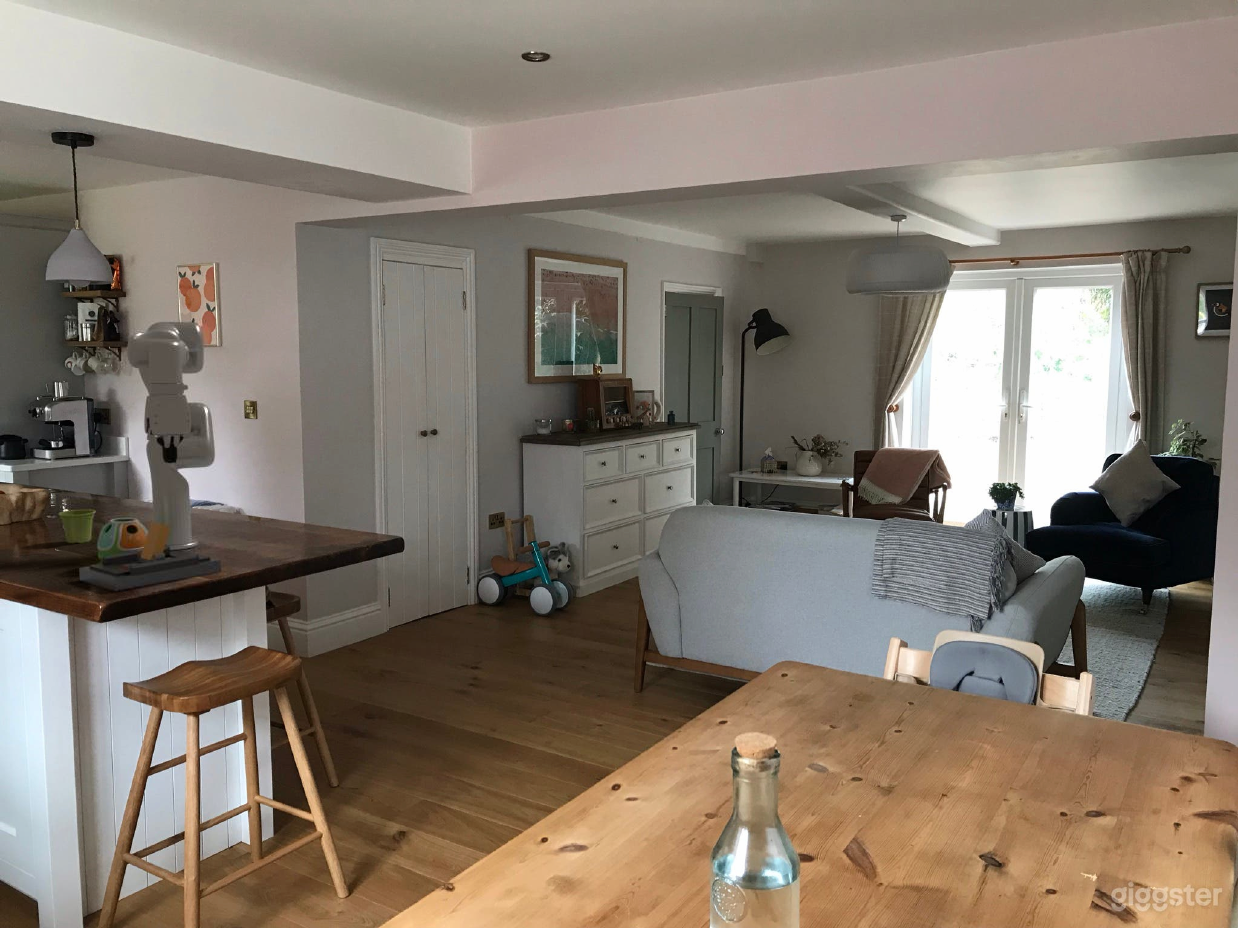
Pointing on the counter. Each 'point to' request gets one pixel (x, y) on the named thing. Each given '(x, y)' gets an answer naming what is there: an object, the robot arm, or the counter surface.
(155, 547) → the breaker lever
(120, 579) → the grey base plate
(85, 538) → the plant pot
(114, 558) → the stepped grey platform
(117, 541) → the turtle holder
